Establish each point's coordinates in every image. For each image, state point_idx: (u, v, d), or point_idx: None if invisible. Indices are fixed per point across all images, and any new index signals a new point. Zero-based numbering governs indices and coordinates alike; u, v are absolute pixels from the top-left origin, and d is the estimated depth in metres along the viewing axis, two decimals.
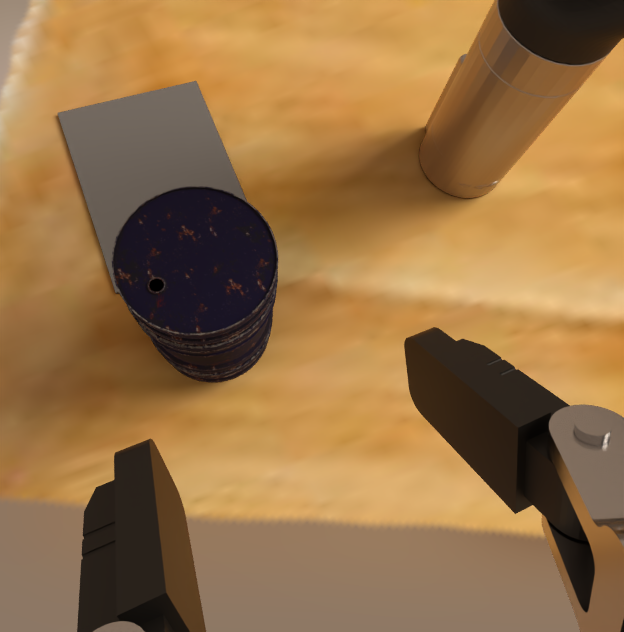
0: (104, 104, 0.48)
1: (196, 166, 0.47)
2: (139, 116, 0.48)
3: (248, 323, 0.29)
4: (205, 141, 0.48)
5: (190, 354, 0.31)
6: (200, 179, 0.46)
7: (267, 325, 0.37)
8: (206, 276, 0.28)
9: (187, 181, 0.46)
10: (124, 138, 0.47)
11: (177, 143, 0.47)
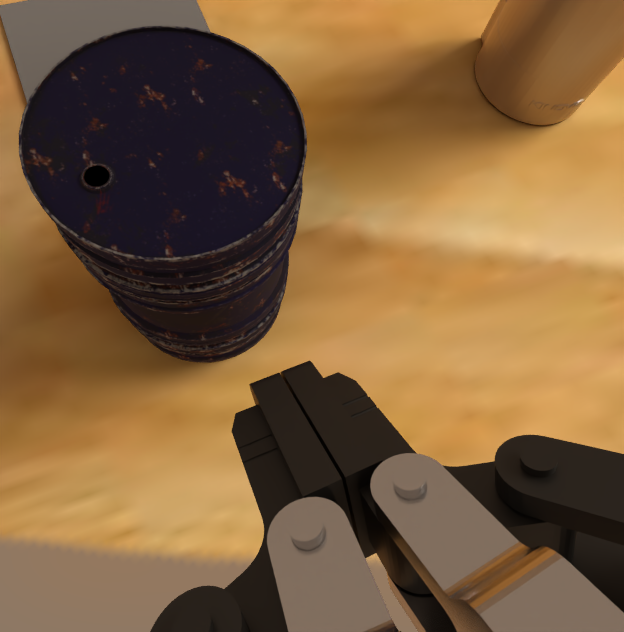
0: None
1: None
2: (107, 13, 0.36)
3: (256, 249, 0.17)
4: None
5: (162, 307, 0.19)
6: None
7: (282, 276, 0.26)
8: (185, 165, 0.16)
9: None
10: (87, 39, 0.35)
11: None
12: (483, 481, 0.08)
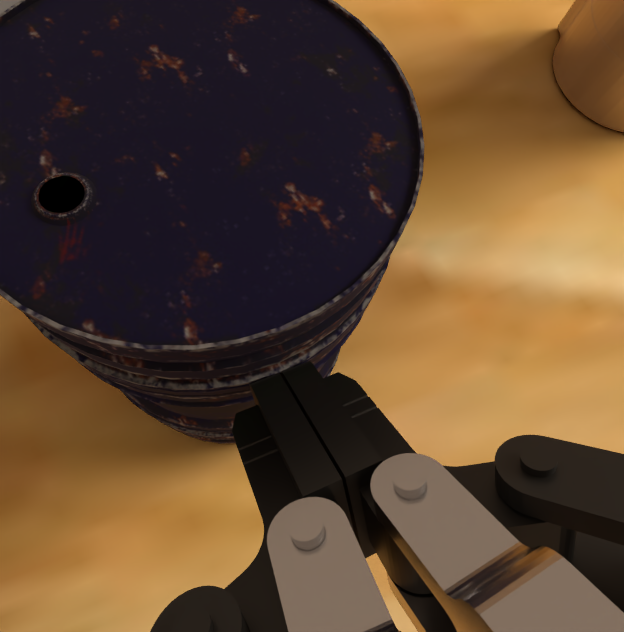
0: None
1: None
2: None
3: (338, 317, 0.10)
4: None
5: (176, 402, 0.12)
6: None
7: None
8: (218, 174, 0.09)
9: None
10: None
11: None
12: (483, 481, 0.08)
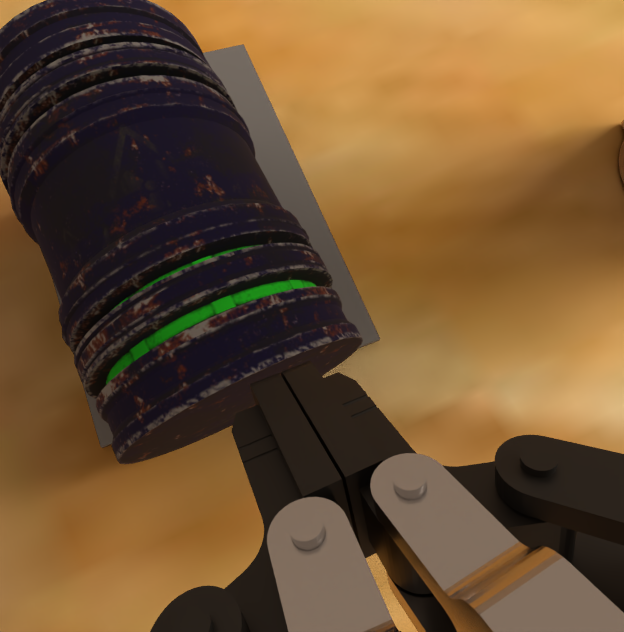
0: None
1: None
2: None
3: (112, 21, 0.17)
4: (262, 148, 0.27)
5: (36, 138, 0.16)
6: None
7: (269, 203, 0.17)
8: None
9: None
10: None
11: None
12: (483, 481, 0.08)
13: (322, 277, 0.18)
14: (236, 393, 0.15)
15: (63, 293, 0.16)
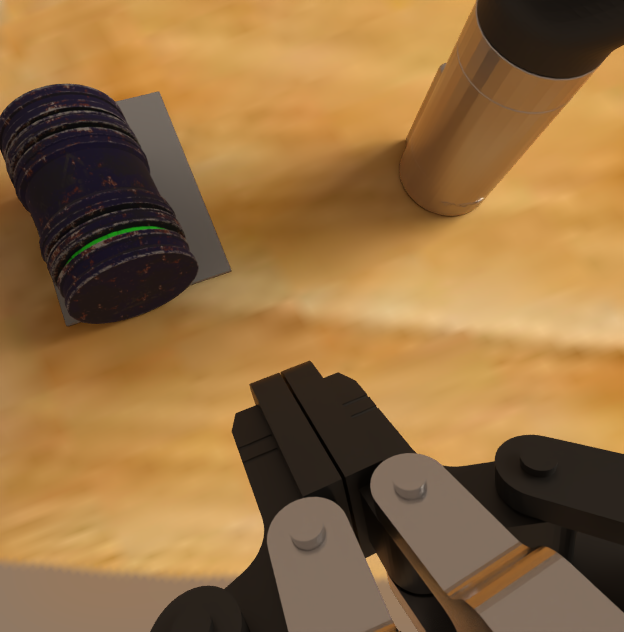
0: None
1: (157, 184, 0.43)
2: None
3: (64, 100, 0.34)
4: (167, 157, 0.44)
5: (27, 159, 0.33)
6: None
7: (142, 189, 0.34)
8: None
9: None
10: None
11: None
12: (483, 481, 0.08)
13: (172, 227, 0.35)
14: (121, 277, 0.32)
15: (41, 234, 0.34)
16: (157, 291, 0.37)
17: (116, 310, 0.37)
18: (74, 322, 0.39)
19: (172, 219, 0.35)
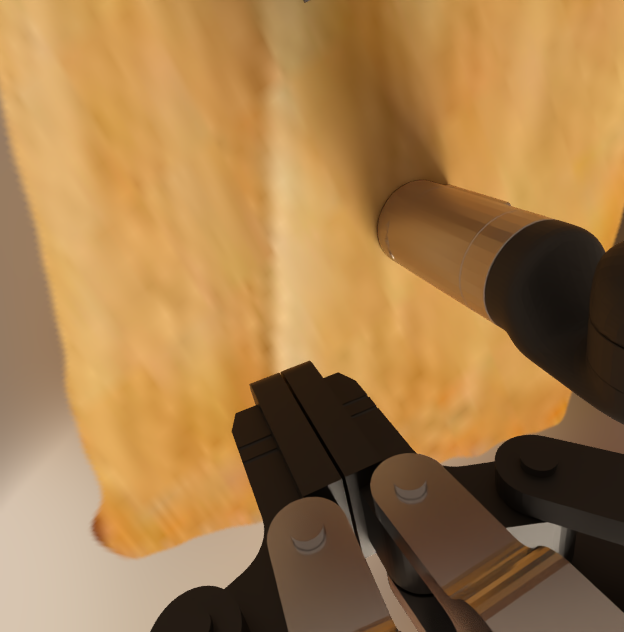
0: None
1: None
2: None
3: None
4: None
5: None
6: None
7: None
8: None
9: None
10: None
11: None
12: (483, 481, 0.08)
13: None
14: None
15: None
16: None
17: None
18: None
19: None
